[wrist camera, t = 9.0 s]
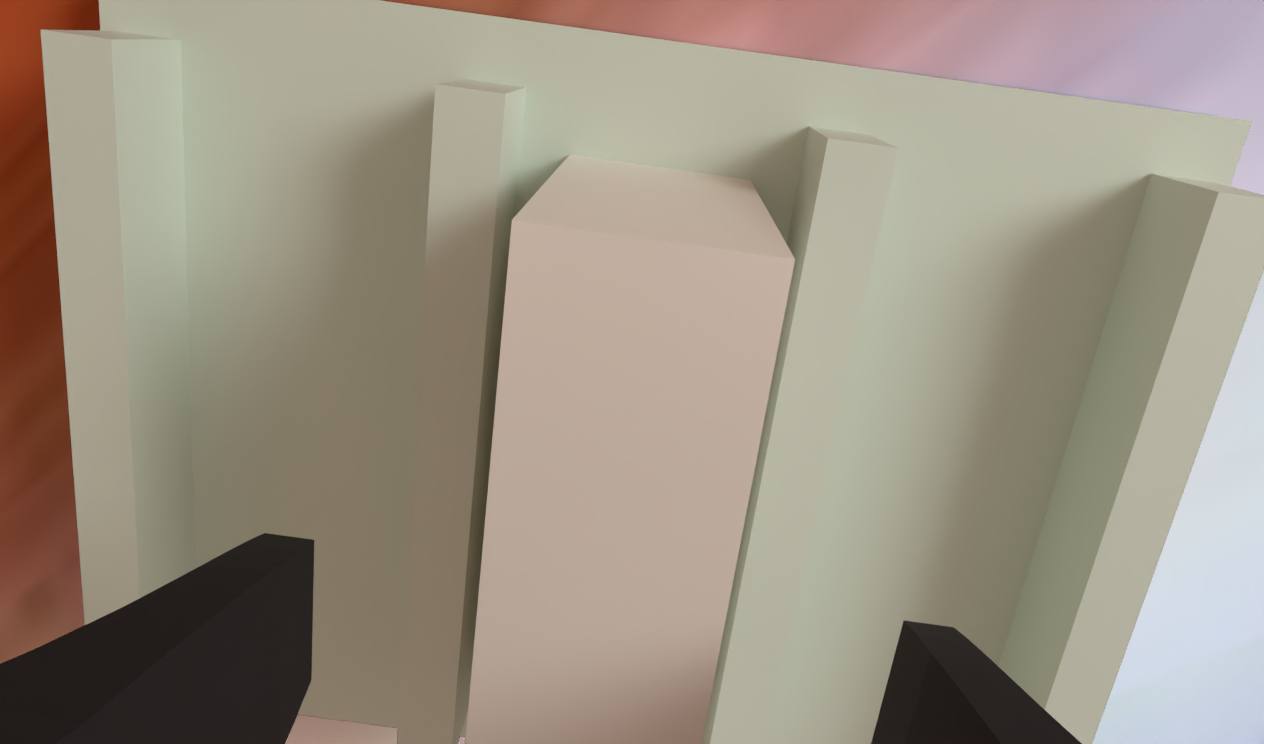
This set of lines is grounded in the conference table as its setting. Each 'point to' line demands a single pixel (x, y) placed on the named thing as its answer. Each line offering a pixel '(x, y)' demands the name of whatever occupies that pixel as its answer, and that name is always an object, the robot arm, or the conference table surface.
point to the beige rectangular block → (622, 451)
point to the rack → (473, 317)
